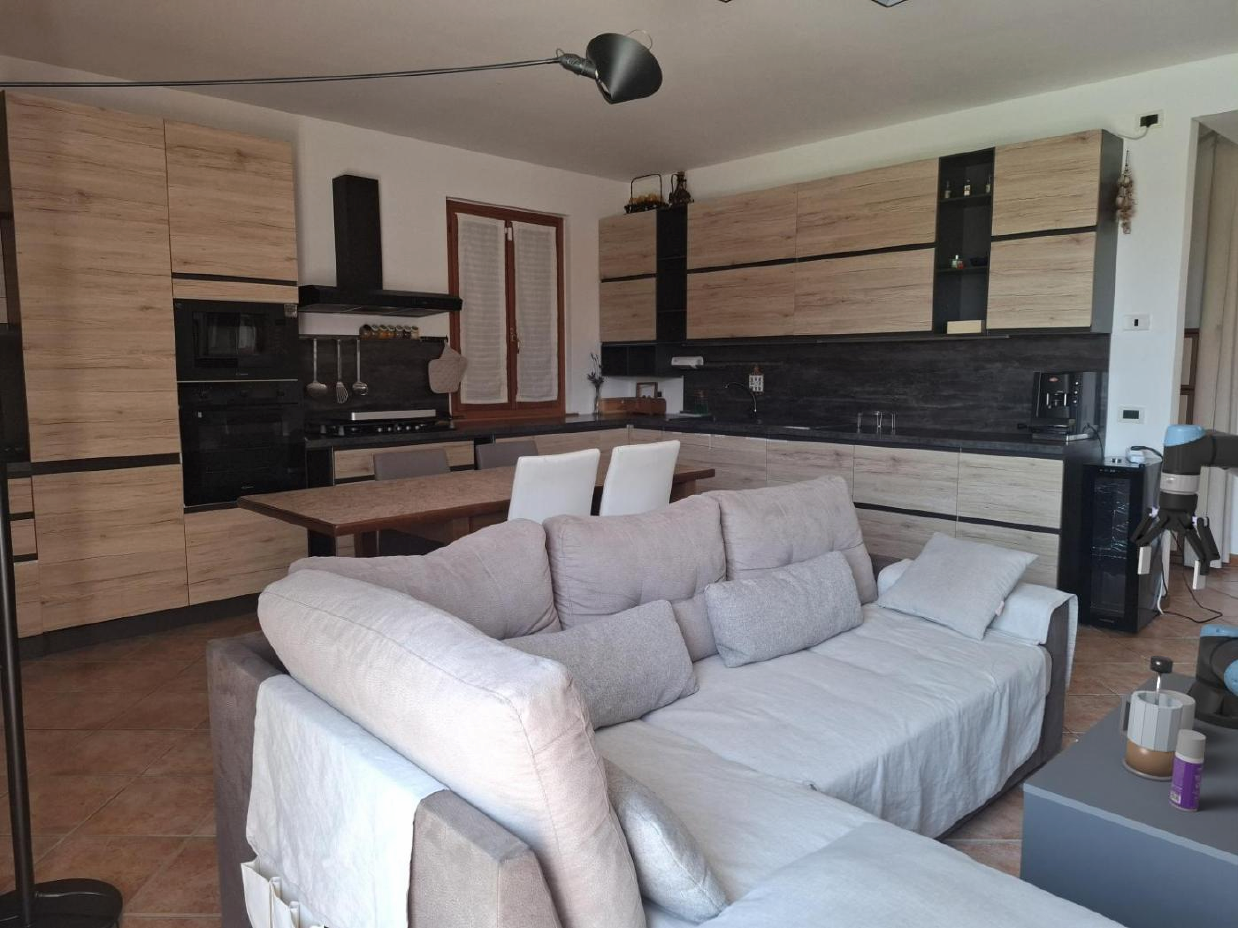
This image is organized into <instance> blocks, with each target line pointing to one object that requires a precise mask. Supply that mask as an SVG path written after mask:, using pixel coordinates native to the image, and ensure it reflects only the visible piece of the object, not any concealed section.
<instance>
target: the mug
mask: <svg viewBox="0 0 1238 928" xmlns="http://www.w3.org/2000/svg"><path fill="white" fill-rule="evenodd" d="M1152 692H1156V689H1155V690H1154V691H1152ZM1160 693H1162V694H1166V695H1169V696H1171V697H1174V698H1176V699H1178V700H1179V701H1180V702H1181V703H1182V704H1183V710H1182V718H1181V727H1180V730H1183V729H1186V730H1192V731H1193V727H1194V718H1195V717H1194V712H1195V704H1196V702H1195V700H1194V699H1193V698H1192V697H1190V696H1188V695H1187V693H1186V694H1185V693H1184V692H1183V693H1182V692H1179V691H1175V690H1170V689H1161V691H1160Z"/></svg>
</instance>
